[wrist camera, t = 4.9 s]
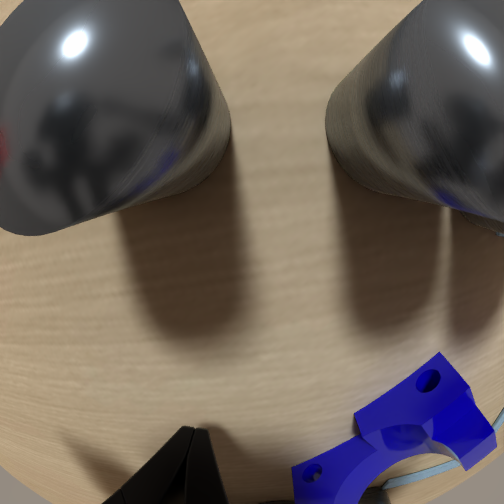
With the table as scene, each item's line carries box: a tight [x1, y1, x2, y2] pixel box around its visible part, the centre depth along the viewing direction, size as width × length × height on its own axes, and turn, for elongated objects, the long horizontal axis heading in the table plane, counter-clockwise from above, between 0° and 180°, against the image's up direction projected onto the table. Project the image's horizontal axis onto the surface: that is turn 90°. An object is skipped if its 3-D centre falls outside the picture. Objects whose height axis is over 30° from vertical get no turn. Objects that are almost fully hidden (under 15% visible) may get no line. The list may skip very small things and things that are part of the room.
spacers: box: [0, 0, 504, 504], centre depth 7 cm, size 14×23×5 cm, turn 177°
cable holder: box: [292, 352, 497, 504], centre depth 8 cm, size 8×4×4 cm, turn 130°
